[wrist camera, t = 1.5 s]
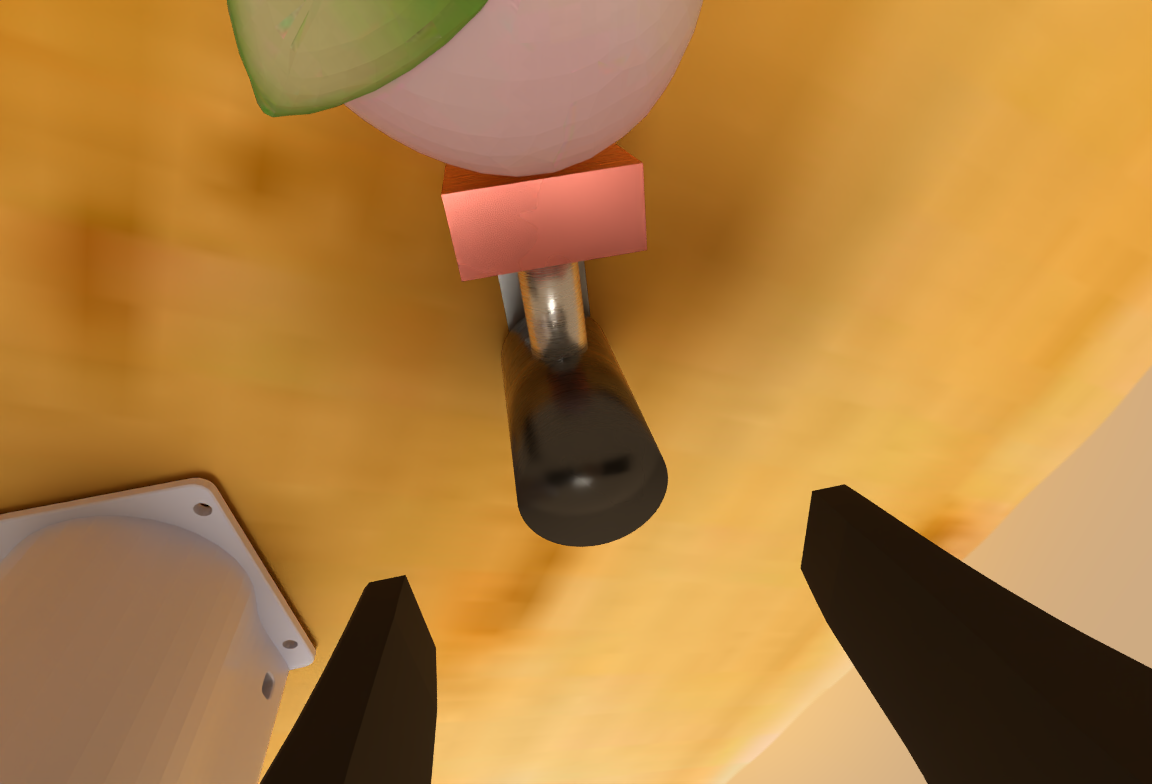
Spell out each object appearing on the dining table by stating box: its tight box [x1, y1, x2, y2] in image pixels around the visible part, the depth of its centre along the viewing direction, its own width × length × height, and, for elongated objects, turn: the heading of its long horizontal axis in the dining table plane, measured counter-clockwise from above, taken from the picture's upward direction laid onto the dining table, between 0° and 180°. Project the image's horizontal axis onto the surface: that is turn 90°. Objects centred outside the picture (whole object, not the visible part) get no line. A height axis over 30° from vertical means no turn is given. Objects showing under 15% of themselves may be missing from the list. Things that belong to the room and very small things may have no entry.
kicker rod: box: [441, 143, 668, 547], centre depth 13 cm, size 8×4×6 cm, turn 7°
